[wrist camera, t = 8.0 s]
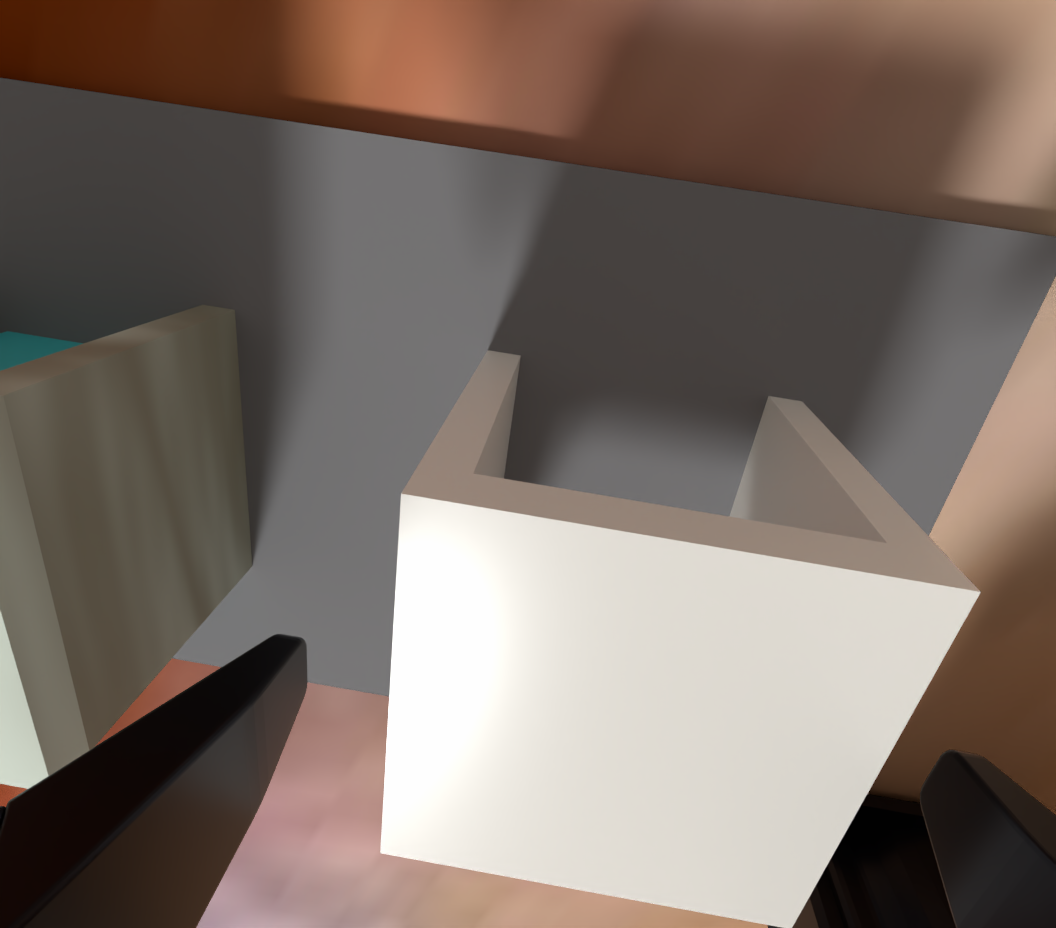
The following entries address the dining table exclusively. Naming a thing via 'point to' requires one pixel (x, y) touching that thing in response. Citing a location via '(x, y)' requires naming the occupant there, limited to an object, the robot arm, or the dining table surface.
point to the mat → (491, 326)
